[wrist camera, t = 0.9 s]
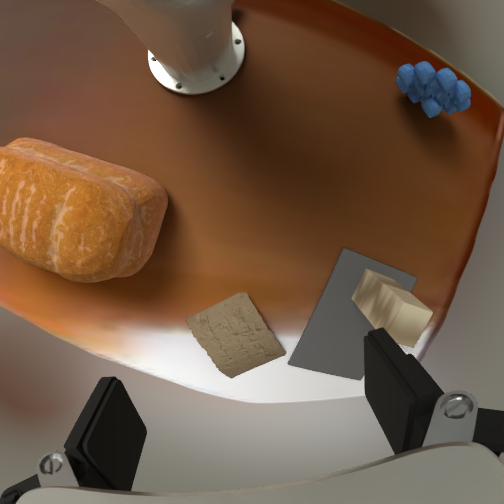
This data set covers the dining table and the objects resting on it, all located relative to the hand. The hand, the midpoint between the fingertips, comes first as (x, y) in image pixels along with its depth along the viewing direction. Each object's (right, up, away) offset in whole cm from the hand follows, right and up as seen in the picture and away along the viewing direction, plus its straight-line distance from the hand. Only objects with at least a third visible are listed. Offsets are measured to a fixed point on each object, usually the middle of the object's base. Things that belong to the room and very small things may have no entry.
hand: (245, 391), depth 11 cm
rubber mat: (+16, -6, +36) cm, 40 cm away
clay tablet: (-2, -7, +36) cm, 37 cm away
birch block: (+18, 0, +34) cm, 38 cm away
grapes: (+23, +27, +27) cm, 45 cm away
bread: (-24, +13, +29) cm, 40 cm away
